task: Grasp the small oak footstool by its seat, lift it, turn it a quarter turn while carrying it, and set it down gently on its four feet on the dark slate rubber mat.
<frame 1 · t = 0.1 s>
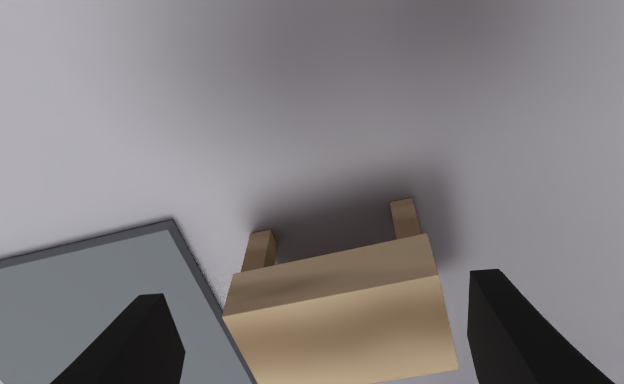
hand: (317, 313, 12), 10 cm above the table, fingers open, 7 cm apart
slate mat: (129, 369, 28), on the table
oak footstool: (341, 254, 23), on the table
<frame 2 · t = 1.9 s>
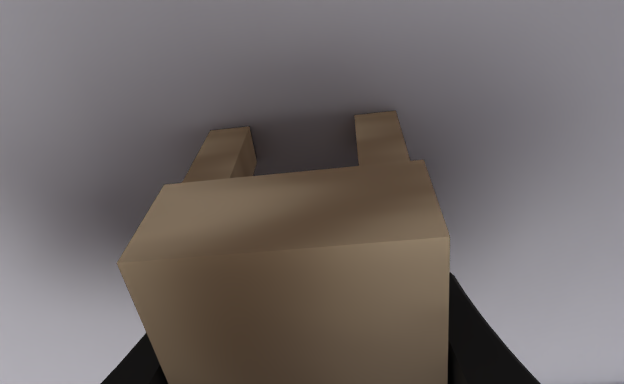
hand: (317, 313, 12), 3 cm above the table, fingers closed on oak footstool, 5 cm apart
oak footstool: (320, 244, 14), on the table, touching gripper
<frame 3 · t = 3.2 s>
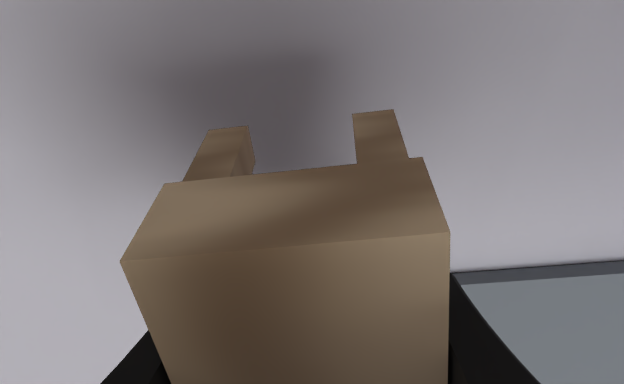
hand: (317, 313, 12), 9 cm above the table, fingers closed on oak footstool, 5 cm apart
slate mat: (447, 374, 26), on the table
oak footstool: (318, 243, 14), point 6 cm above the table, touching gripper
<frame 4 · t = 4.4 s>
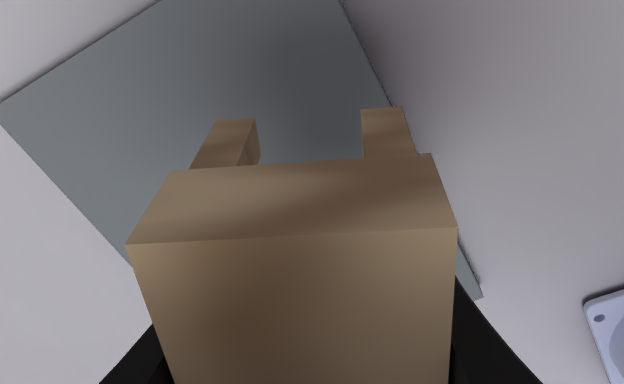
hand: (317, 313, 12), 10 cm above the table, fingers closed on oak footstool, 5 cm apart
slate mat: (261, 203, 22), on the table
oak footstool: (320, 238, 14), point 7 cm above the table, touching gripper
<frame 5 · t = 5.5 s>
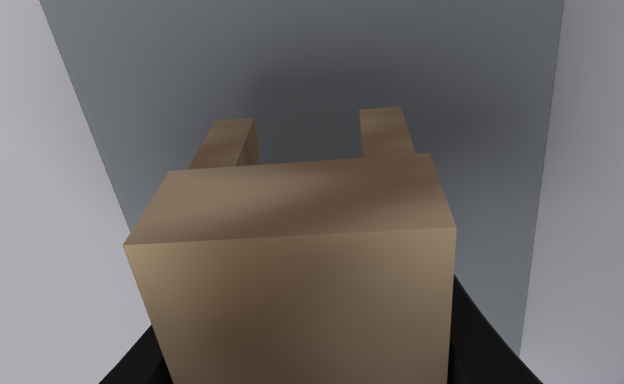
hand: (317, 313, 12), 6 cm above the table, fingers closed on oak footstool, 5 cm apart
slate mat: (323, 183, 17), on the table
oak footstool: (320, 238, 14), point 3 cm above the table, touching gripper
when the fingers open (5 cm above the table, at t = 6.7 s): oak footstool drops 1 cm, resting on slate mat.
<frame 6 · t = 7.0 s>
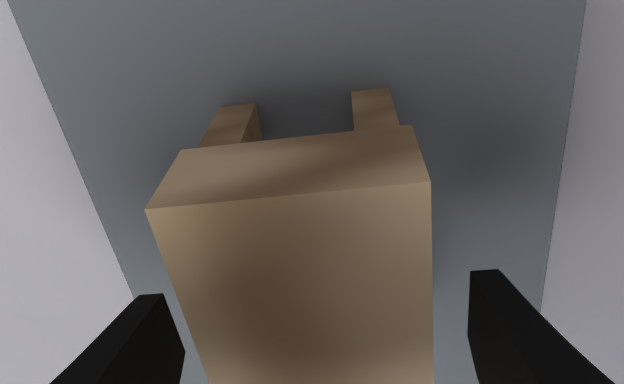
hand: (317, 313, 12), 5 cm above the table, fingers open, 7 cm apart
slate mat: (322, 203, 16), on the table
oak footstool: (320, 214, 15), point 1 cm above the table, touching slate mat
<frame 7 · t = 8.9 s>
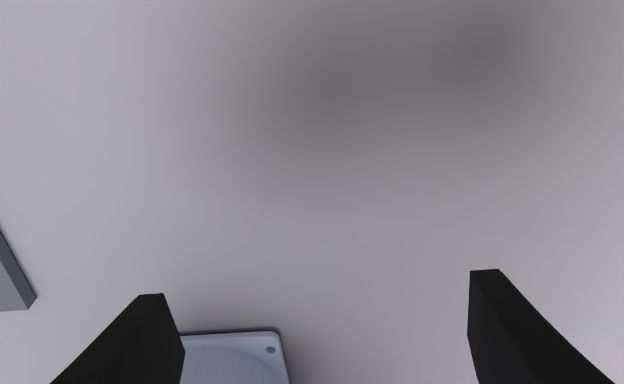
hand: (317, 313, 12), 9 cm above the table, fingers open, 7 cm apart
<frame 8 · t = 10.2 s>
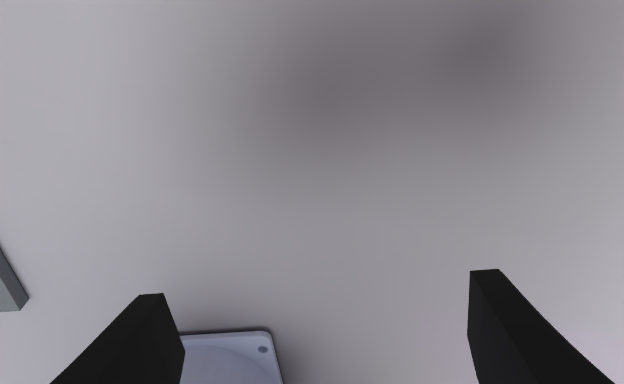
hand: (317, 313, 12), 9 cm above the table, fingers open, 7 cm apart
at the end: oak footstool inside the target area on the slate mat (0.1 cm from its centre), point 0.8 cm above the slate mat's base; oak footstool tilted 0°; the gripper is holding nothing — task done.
